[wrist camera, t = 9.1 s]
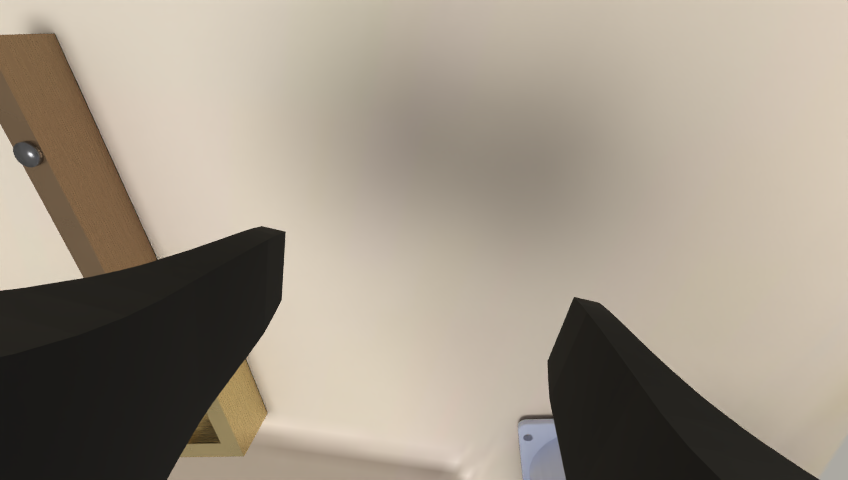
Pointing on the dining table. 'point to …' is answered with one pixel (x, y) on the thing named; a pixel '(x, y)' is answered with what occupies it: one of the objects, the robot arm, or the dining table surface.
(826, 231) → the dining table surface
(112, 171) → the hinge
